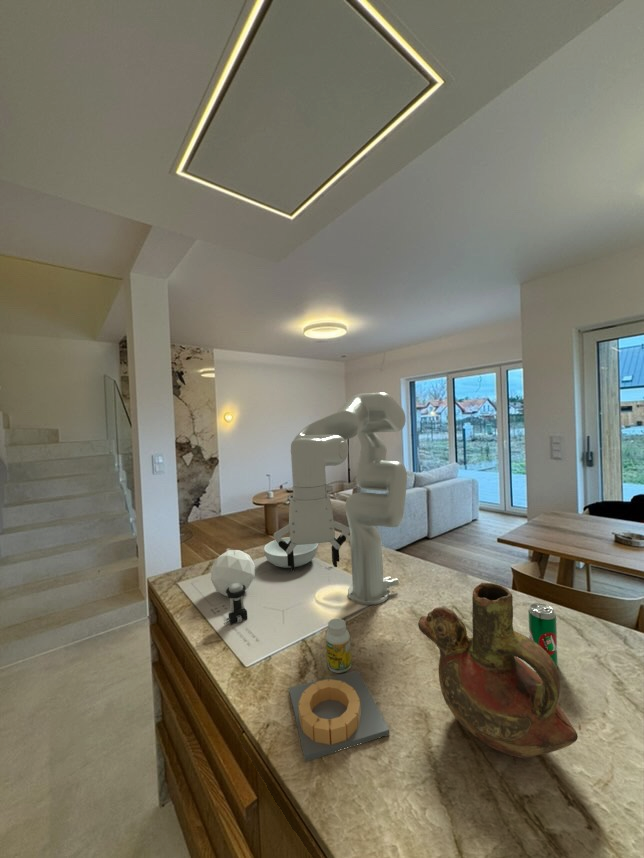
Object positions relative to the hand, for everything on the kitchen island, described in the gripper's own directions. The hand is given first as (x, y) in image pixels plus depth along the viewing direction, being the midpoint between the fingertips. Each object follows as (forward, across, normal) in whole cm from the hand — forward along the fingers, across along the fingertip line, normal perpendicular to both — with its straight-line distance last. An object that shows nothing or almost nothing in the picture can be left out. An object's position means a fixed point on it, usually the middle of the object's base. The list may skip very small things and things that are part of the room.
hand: (313, 566), depth 80 cm
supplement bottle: (+22, -4, +3) cm, 22 cm away
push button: (+22, +21, -20) cm, 36 cm away
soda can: (+22, -48, +10) cm, 54 cm away
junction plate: (+22, -2, +15) cm, 26 cm away
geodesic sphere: (+22, +24, -36) cm, 49 cm away
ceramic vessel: (+22, -28, +22) cm, 42 cm away
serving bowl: (+22, +5, -56) cm, 60 cm away
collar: (+22, 0, +16) cm, 27 cm away
